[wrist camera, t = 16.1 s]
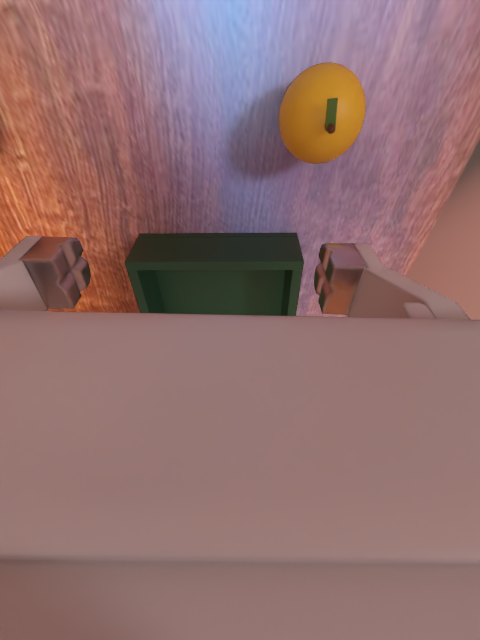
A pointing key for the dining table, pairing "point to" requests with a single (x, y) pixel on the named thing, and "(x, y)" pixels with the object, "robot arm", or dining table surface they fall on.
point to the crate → (216, 273)
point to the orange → (322, 113)
